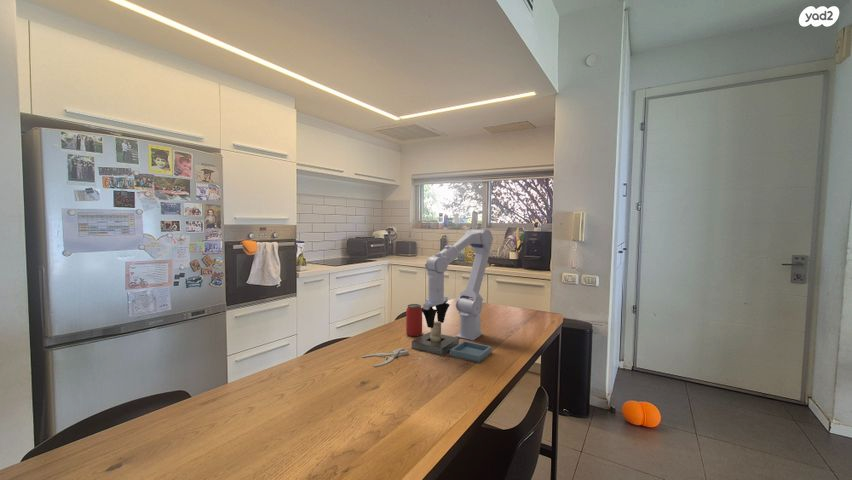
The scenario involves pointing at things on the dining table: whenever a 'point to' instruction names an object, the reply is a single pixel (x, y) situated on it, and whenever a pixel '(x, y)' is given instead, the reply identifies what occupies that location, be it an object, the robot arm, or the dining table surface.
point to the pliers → (395, 353)
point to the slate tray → (471, 351)
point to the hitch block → (435, 344)
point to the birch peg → (435, 332)
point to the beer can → (414, 320)
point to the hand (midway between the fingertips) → (435, 324)
